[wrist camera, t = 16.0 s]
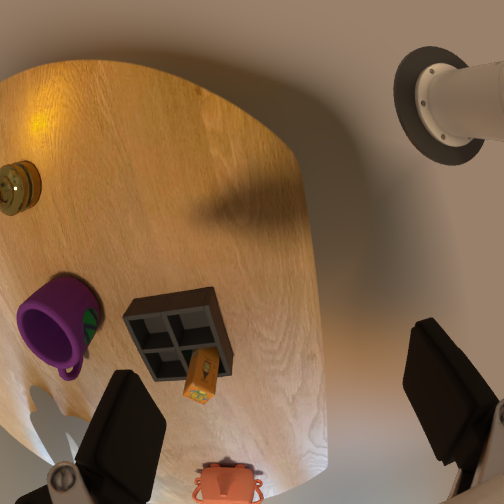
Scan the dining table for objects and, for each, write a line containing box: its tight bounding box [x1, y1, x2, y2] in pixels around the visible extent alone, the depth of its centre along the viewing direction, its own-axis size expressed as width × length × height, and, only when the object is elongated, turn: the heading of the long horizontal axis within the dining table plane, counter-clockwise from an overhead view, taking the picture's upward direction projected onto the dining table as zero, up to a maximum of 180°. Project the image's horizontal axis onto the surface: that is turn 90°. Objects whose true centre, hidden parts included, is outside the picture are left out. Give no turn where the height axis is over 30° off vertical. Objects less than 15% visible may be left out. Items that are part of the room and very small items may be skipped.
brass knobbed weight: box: [0, 161, 41, 216], centre depth 29 cm, size 7×7×10 cm
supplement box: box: [183, 346, 220, 404], centre depth 37 cm, size 3×3×10 cm
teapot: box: [192, 463, 264, 504], centre depth 53 cm, size 15×17×13 cm
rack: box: [122, 287, 233, 382], centre depth 40 cm, size 12×12×5 cm
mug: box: [17, 277, 100, 381], centre depth 37 cm, size 17×11×10 cm, turn 172°
